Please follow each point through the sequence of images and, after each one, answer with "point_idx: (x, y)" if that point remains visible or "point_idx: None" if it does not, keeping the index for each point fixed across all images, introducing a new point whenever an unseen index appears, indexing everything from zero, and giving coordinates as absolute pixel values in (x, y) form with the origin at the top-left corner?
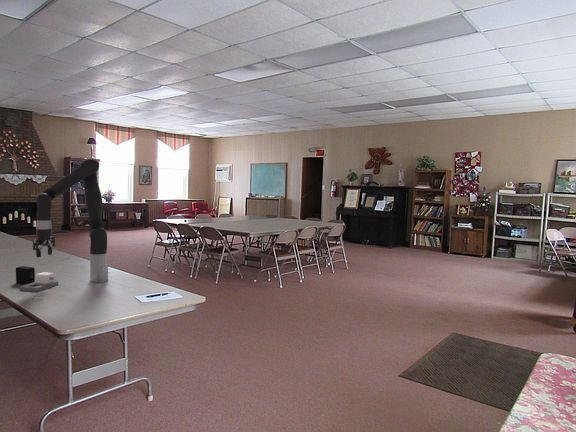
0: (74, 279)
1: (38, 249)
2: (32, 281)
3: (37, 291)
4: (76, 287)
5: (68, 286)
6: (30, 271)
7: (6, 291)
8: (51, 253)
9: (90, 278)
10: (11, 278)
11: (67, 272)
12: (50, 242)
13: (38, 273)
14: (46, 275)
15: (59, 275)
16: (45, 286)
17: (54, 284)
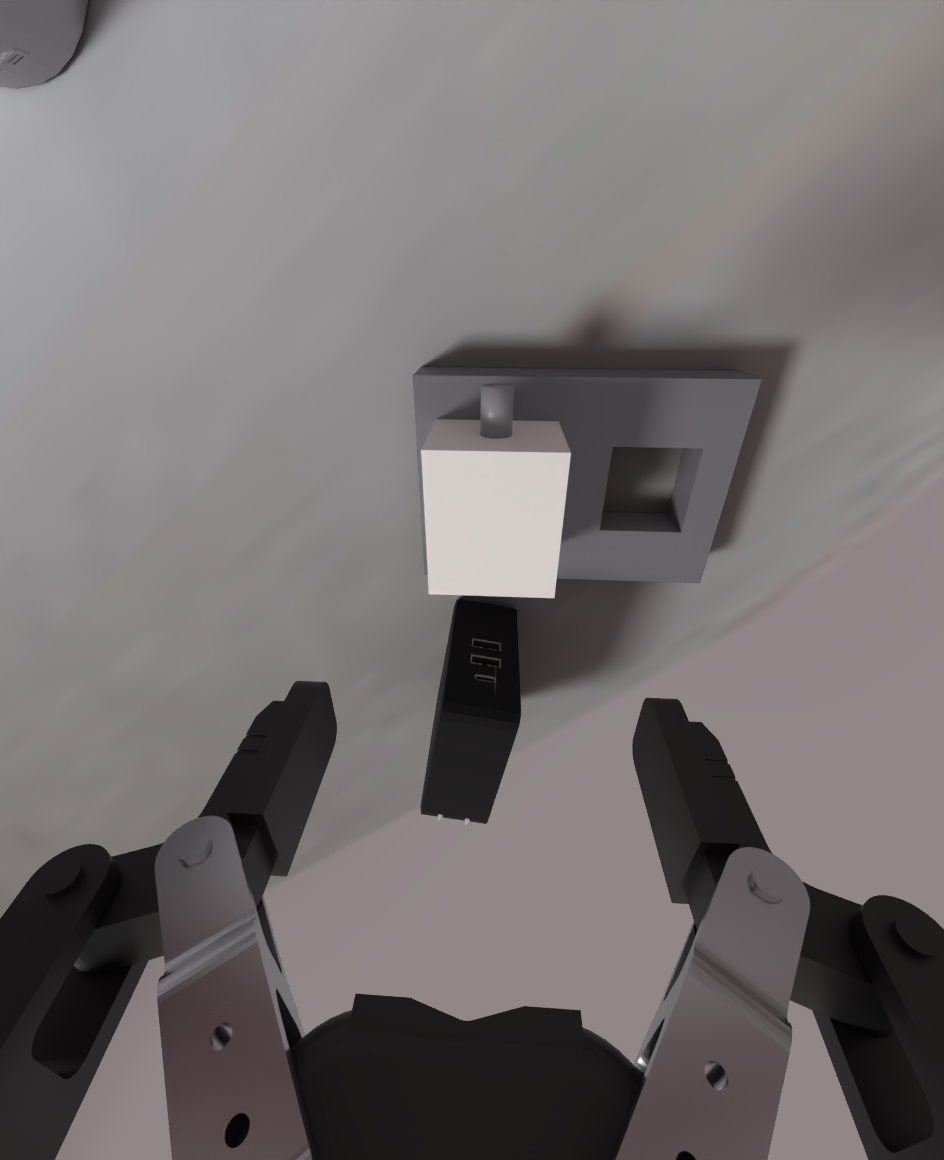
0: (146, 376)
1: (803, 914)
2: (478, 616)
3: (743, 373)
4: (426, 7)
5: (419, 197)
6: (494, 689)
7: (704, 636)
8: (301, 696)
9: (43, 7)
10: (379, 795)
11: (30, 612)
12: (197, 1123)
13: (506, 595)
14: (566, 450)
15: (139, 606)
16: (627, 376)
17: (479, 372)
